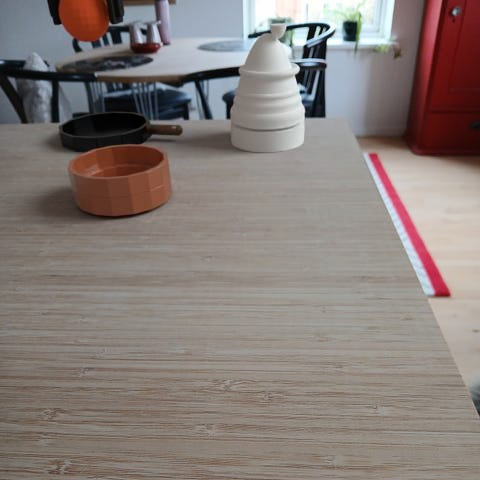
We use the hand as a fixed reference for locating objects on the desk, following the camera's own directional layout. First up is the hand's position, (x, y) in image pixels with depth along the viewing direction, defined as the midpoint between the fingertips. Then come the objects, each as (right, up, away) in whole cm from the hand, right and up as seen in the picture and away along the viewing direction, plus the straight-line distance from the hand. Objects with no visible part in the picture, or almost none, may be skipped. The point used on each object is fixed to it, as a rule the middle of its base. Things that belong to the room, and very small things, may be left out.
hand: (88, 22), depth 73 cm
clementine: (0, -2, +2) cm, 3 cm away
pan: (0, -9, +22) cm, 24 cm away
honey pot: (+26, -10, +18) cm, 34 cm away
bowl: (+5, -25, -1) cm, 26 cm away
